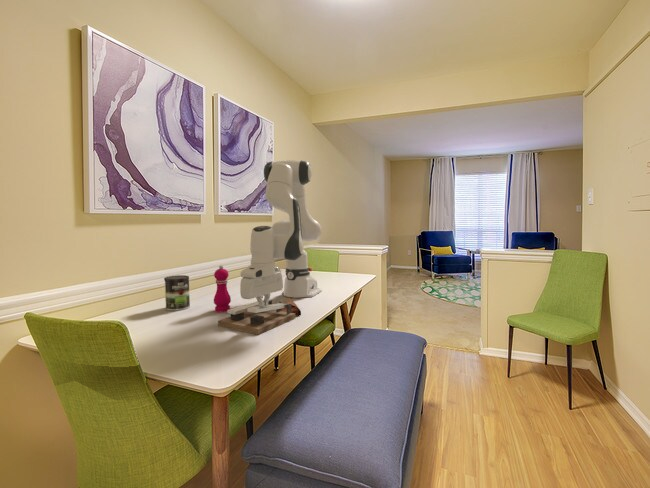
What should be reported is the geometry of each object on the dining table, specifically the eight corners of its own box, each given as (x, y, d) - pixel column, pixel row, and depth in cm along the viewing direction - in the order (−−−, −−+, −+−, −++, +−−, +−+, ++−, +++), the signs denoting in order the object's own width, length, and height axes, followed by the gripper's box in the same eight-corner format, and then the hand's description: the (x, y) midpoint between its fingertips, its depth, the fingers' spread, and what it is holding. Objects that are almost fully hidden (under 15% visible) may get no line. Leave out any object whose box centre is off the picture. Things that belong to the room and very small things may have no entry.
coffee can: (193, 307, 155) (192, 277, 154) (169, 312, 148) (168, 280, 147) (185, 303, 163) (184, 274, 161) (162, 307, 156) (161, 277, 155)
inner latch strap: (261, 302, 145) (261, 300, 145) (268, 304, 143) (268, 301, 143) (227, 313, 129) (227, 310, 129) (235, 314, 127) (235, 311, 127)
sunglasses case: (274, 306, 156) (281, 293, 157) (287, 312, 158) (294, 300, 159) (281, 317, 139) (289, 303, 140) (295, 324, 141) (303, 310, 142)
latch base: (257, 311, 148) (257, 298, 148) (295, 318, 138) (295, 304, 137) (218, 325, 129) (217, 310, 129) (258, 334, 119) (258, 318, 119)
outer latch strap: (279, 306, 140) (279, 303, 140) (287, 307, 138) (287, 304, 138) (247, 311, 124) (247, 308, 124) (255, 312, 122) (255, 309, 122)
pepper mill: (226, 312, 146) (224, 266, 145) (210, 312, 148) (209, 266, 146) (234, 308, 153) (232, 264, 152) (219, 307, 155) (217, 263, 153)
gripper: (274, 266, 138) (274, 299, 139) (237, 272, 120) (237, 311, 121) (286, 267, 135) (287, 301, 136) (250, 274, 117) (251, 313, 118)
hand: (263, 306), depth 128 cm, fingers closed
